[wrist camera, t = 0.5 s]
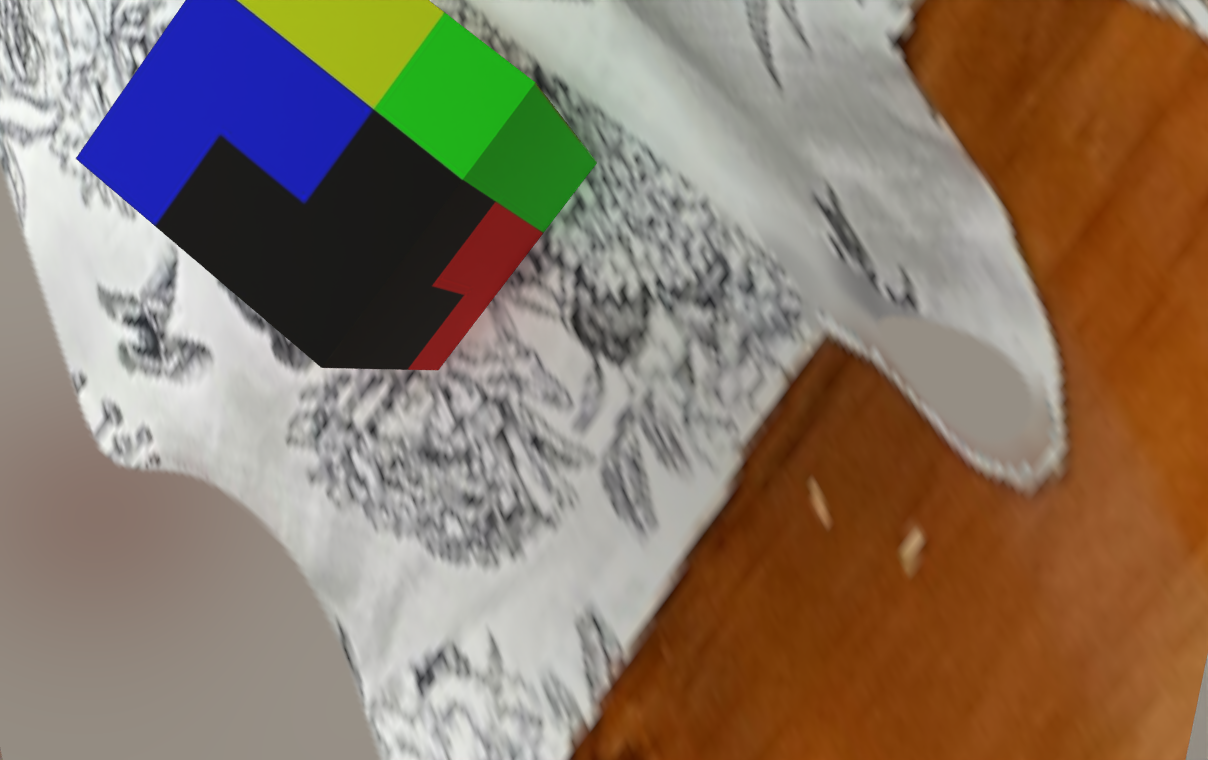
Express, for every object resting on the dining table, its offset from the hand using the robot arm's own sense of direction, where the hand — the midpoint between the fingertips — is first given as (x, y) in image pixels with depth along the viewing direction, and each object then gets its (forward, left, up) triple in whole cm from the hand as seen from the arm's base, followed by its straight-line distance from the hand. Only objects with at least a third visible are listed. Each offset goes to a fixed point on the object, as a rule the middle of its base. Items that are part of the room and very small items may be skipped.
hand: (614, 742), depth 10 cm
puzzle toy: (-2, -16, -26) cm, 30 cm away
